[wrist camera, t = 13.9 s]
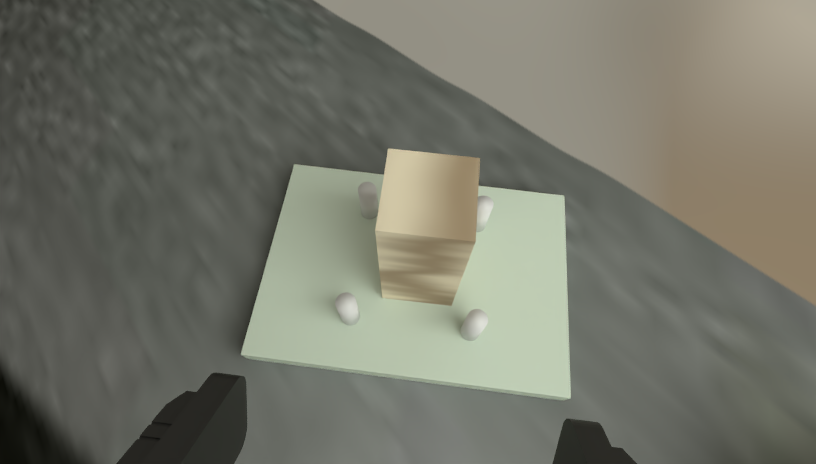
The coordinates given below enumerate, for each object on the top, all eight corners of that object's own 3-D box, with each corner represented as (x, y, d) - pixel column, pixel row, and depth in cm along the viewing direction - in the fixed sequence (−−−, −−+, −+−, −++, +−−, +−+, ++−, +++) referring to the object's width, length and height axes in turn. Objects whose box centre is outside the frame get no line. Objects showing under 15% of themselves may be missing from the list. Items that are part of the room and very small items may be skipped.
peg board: (248, 358, 29) (223, 344, 25) (298, 175, 35) (285, 139, 31) (562, 400, 28) (590, 392, 24) (557, 205, 34) (579, 173, 30)
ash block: (382, 297, 29) (375, 230, 20) (391, 235, 31) (388, 148, 22) (451, 305, 29) (475, 241, 20) (456, 242, 31) (479, 158, 22)
